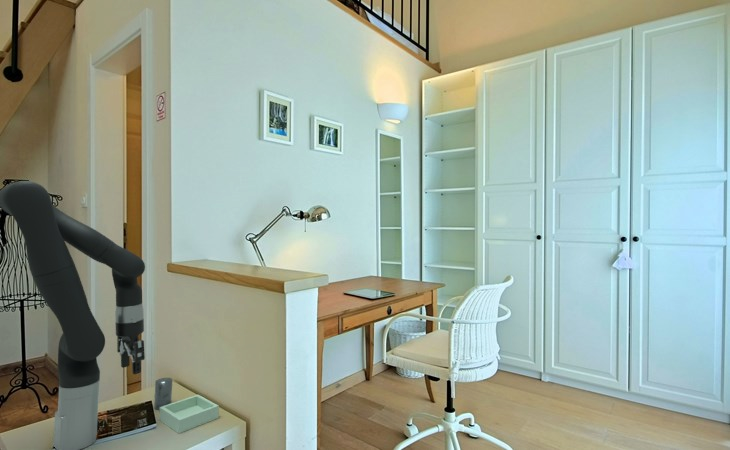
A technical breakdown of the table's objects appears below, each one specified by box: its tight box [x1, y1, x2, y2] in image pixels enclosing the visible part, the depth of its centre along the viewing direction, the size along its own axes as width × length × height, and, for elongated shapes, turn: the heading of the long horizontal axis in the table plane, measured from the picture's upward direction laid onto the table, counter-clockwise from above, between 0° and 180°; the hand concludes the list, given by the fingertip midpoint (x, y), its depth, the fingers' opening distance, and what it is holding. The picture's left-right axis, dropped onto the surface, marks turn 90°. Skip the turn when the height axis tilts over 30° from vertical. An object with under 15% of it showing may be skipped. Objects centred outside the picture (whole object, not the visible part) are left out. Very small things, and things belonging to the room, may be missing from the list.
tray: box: [158, 394, 220, 434], centre depth 123 cm, size 13×13×4 cm
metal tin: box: [153, 377, 173, 411], centre depth 131 cm, size 5×5×9 cm
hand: (131, 370), depth 118 cm, fingers open, 8 cm apart
